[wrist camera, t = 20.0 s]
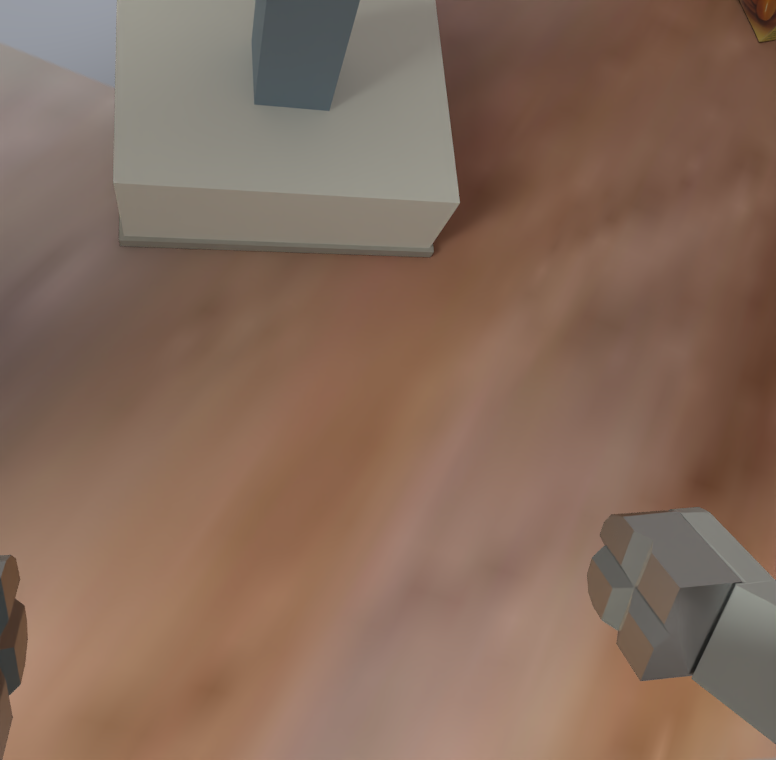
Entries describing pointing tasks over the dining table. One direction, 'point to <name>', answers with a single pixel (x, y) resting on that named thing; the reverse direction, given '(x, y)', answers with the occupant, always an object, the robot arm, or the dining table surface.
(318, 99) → the grey tall block
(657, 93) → the dining table surface
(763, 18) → the candy box
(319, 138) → the riser
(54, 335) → the dining table surface
